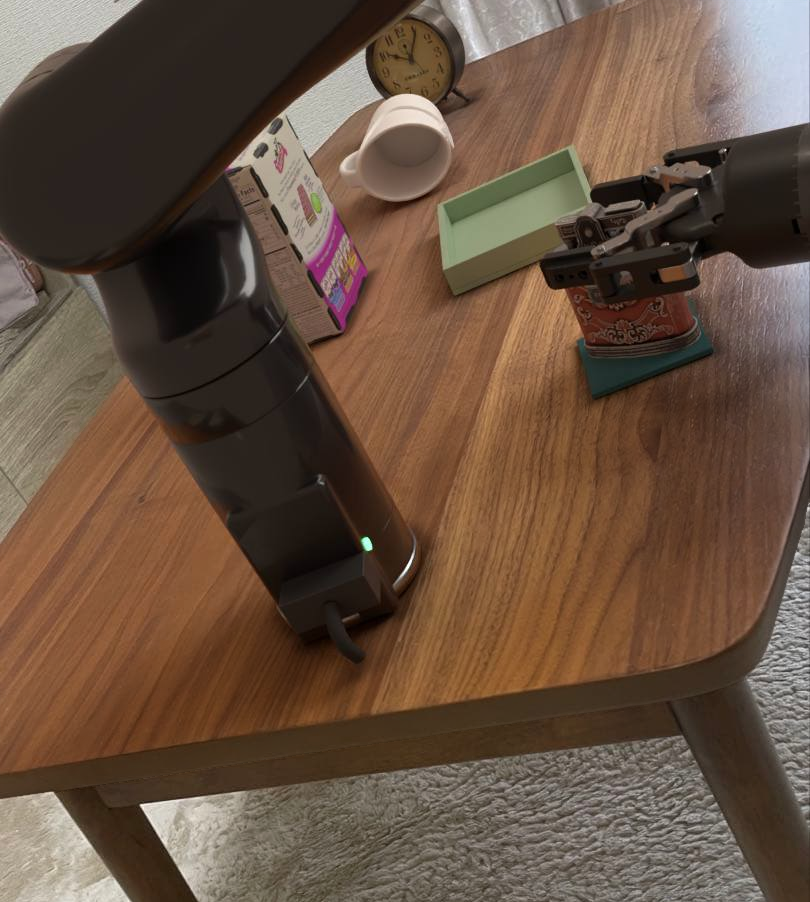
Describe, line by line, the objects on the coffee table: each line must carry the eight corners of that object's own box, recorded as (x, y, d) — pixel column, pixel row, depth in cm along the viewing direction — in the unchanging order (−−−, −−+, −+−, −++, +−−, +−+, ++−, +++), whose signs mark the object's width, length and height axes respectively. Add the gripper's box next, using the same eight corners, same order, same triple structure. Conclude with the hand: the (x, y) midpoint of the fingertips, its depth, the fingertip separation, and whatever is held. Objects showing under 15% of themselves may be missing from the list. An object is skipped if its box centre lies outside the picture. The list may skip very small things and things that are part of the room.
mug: (464, 148, 130) (434, 77, 126) (465, 180, 122) (432, 105, 118) (361, 193, 133) (328, 125, 129) (355, 227, 126) (320, 155, 121)
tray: (606, 231, 99) (596, 203, 98) (454, 296, 102) (442, 270, 101) (582, 169, 111) (572, 144, 110) (447, 228, 114) (436, 204, 113)
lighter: (580, 362, 84) (526, 232, 78) (599, 333, 85) (548, 205, 80) (690, 352, 78) (641, 212, 73) (708, 321, 80) (661, 183, 75)
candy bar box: (323, 289, 116) (238, 128, 107) (370, 273, 114) (287, 107, 105) (293, 351, 107) (198, 182, 99) (344, 335, 105) (251, 160, 97)
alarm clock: (392, 132, 146) (330, -2, 138) (408, 112, 150) (349, -20, 141) (473, 106, 140) (414, -36, 132) (487, 86, 144) (431, -54, 135)
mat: (714, 352, 78) (712, 347, 78) (593, 399, 80) (591, 394, 80) (688, 300, 85) (687, 295, 84) (578, 344, 86) (576, 340, 86)
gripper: (841, 69, 71) (590, 129, 81) (774, 193, 63) (504, 244, 73) (869, 186, 75) (627, 230, 85) (810, 318, 67) (549, 350, 76)
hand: (571, 236), depth 79 cm, fingers open, 8 cm apart
